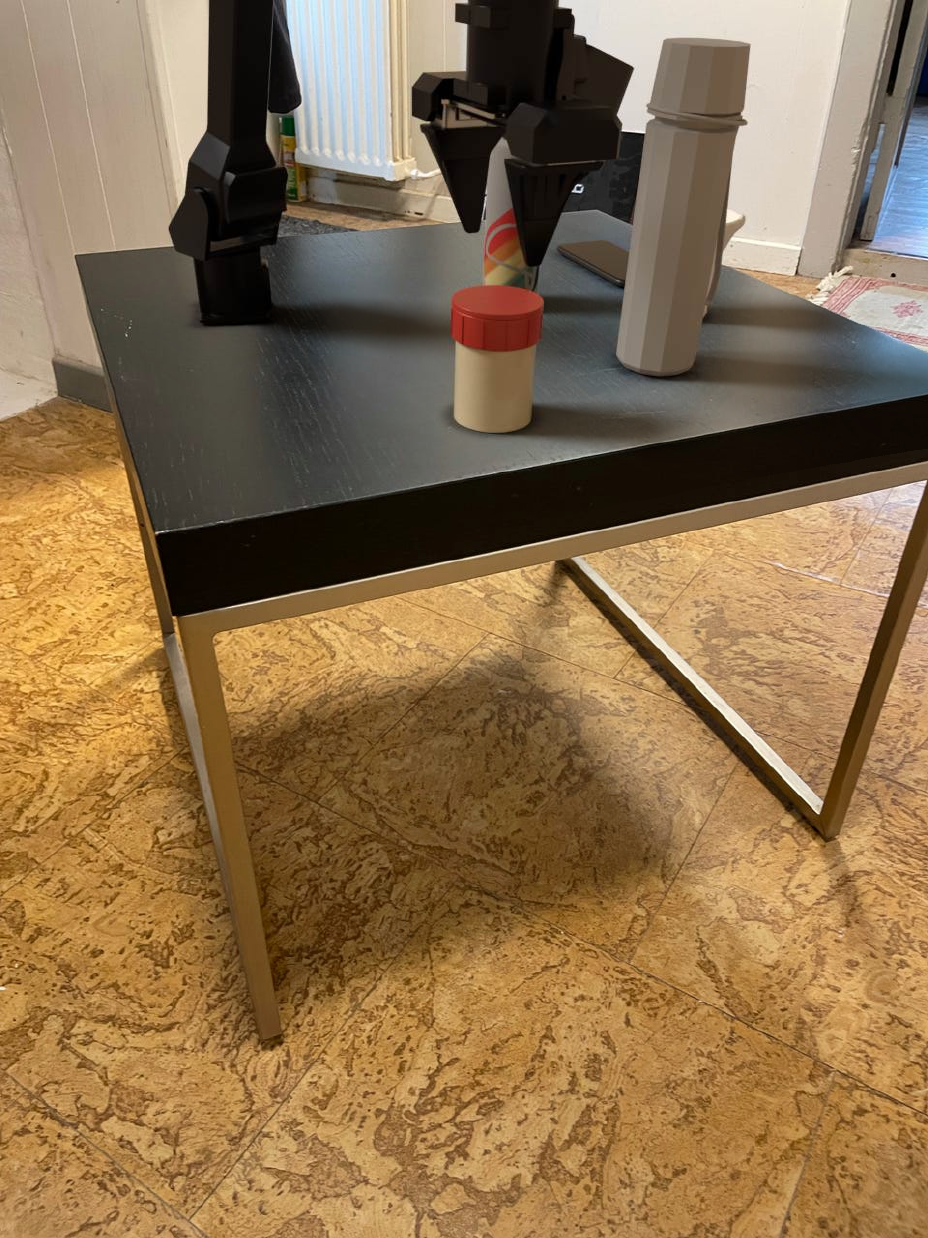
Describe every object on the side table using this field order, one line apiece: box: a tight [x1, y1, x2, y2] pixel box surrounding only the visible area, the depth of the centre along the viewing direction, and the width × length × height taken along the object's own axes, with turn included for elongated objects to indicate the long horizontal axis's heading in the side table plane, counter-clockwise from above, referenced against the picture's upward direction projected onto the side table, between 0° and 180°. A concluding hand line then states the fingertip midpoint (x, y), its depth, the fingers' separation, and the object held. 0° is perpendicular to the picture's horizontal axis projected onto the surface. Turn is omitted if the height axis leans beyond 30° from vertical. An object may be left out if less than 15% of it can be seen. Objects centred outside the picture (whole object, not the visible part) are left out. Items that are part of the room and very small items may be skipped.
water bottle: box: [615, 37, 752, 377], centre depth 78 cm, size 9×8×25 cm
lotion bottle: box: [482, 132, 540, 294], centre depth 92 cm, size 6×6×20 cm
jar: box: [453, 340, 538, 434], centre depth 72 cm, size 6×6×9 cm
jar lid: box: [450, 284, 545, 351], centre depth 70 cm, size 7×7×3 cm
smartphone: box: [555, 239, 630, 288], centre depth 108 cm, size 7×1×15 cm
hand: (501, 248), depth 67 cm, fingers open, 9 cm apart
